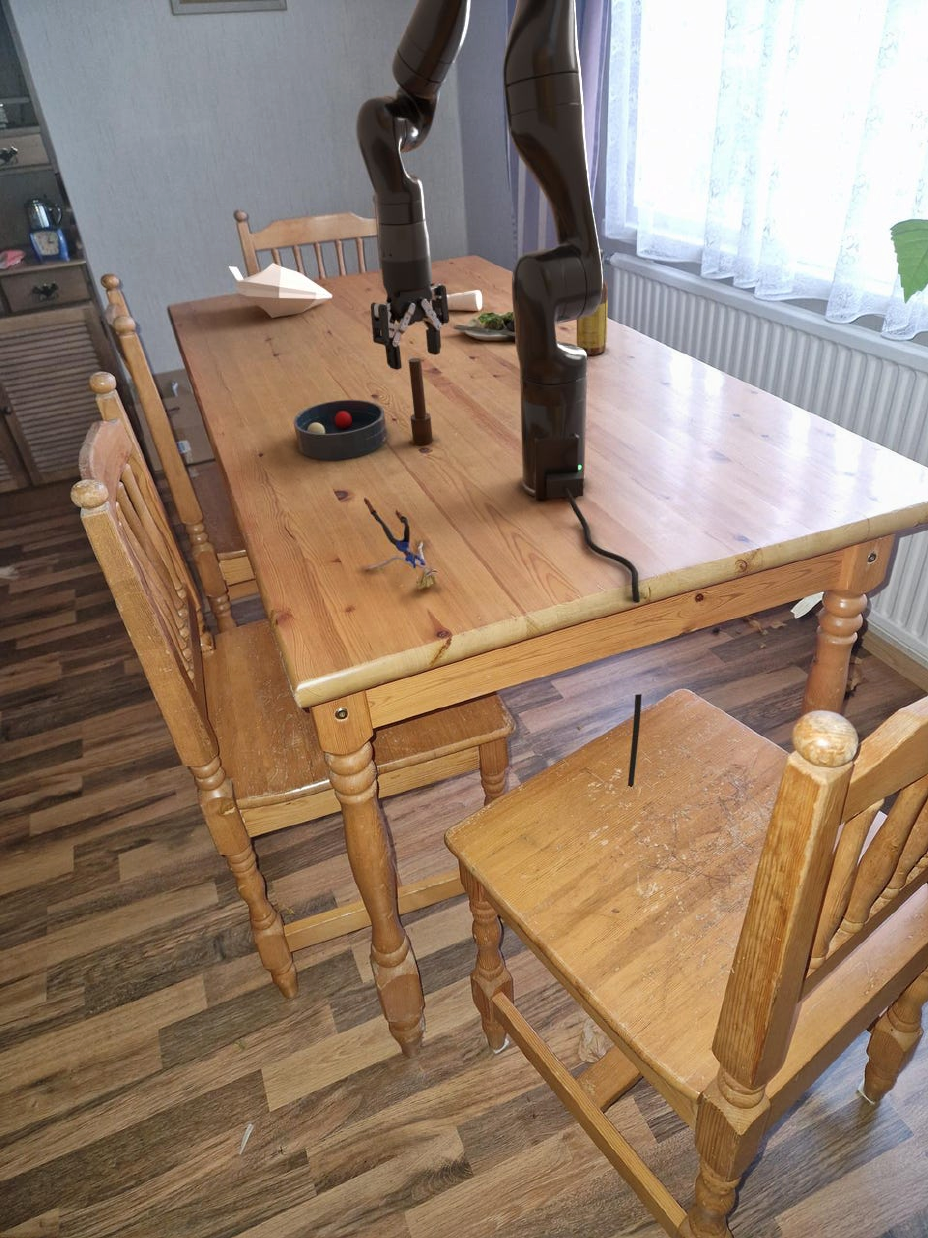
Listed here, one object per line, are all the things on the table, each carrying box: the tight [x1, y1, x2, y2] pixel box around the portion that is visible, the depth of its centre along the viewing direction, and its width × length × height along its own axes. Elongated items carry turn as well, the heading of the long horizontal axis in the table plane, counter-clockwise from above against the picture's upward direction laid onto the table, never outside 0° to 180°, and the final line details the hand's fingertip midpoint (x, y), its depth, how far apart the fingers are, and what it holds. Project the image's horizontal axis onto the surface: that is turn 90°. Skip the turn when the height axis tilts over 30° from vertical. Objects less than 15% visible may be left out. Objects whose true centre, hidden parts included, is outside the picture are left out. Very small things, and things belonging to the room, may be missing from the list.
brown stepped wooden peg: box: [408, 357, 434, 446], centre depth 134 cm, size 3×3×14 cm
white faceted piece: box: [228, 262, 333, 319], centre depth 207 cm, size 25×24×12 cm
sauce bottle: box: [576, 248, 609, 356], centre depth 164 cm, size 7×6×20 cm
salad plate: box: [452, 311, 516, 342], centre depth 184 cm, size 19×18×5 cm
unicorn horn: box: [429, 289, 483, 312], centre depth 203 cm, size 5×24×5 cm, turn 68°
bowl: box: [292, 399, 388, 461], centre depth 139 cm, size 15×15×4 cm
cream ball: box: [307, 423, 325, 434], centre depth 139 cm, size 3×3×3 cm
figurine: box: [363, 497, 439, 604], centre depth 104 cm, size 10×9×20 cm
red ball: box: [335, 411, 352, 429], centre depth 143 cm, size 3×3×3 cm
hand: (415, 360), depth 130 cm, fingers open, 8 cm apart
